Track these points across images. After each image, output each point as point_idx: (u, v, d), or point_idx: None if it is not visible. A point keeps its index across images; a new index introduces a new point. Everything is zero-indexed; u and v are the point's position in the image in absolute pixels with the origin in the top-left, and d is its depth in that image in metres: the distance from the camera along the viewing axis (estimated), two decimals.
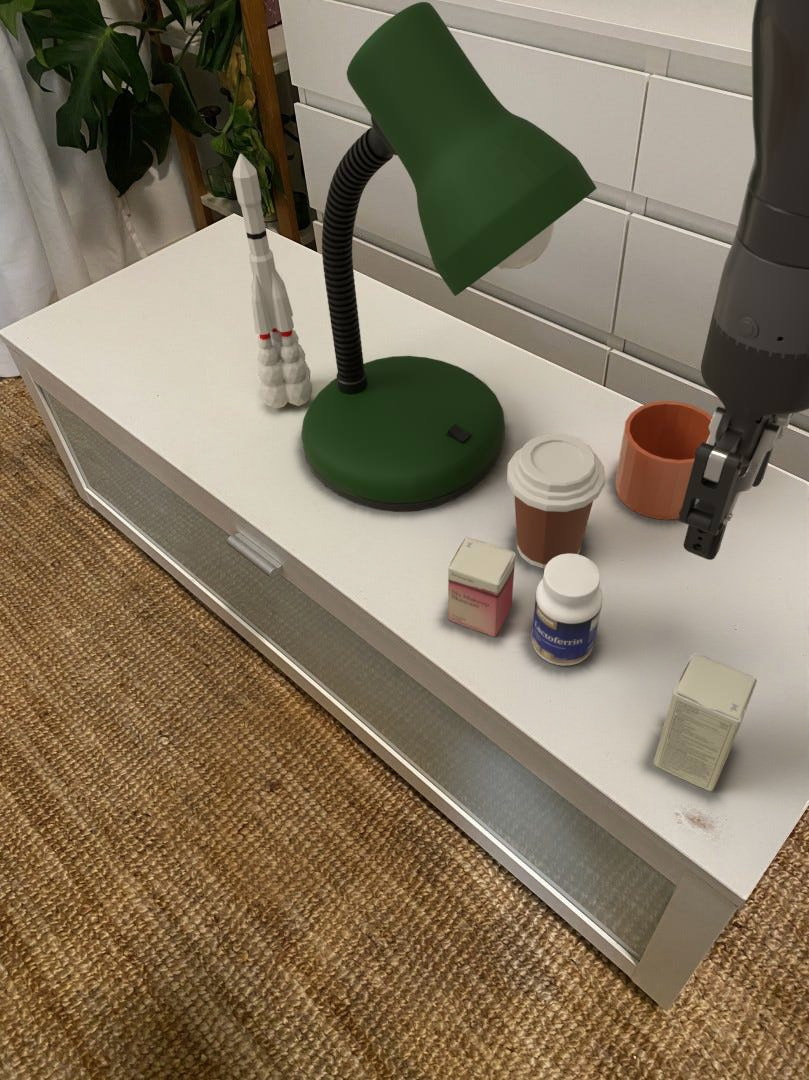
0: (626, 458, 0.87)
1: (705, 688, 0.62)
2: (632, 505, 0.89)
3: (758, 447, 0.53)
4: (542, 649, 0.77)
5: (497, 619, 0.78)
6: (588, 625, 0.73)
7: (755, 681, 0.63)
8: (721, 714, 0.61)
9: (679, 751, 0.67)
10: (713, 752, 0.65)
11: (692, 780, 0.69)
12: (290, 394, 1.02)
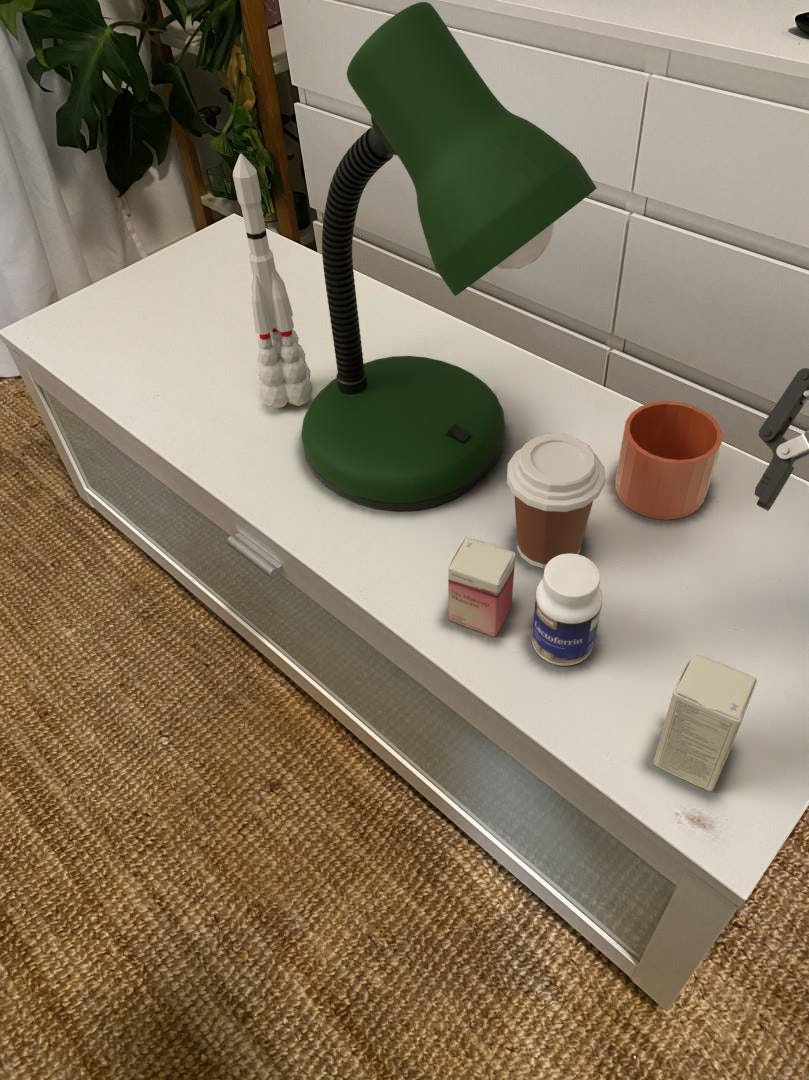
0: (626, 458, 0.87)
1: (705, 688, 0.62)
2: (632, 505, 0.89)
3: None
4: (542, 649, 0.77)
5: (497, 619, 0.78)
6: (588, 625, 0.73)
7: (755, 681, 0.63)
8: (721, 714, 0.61)
9: (679, 751, 0.67)
10: (713, 752, 0.65)
11: (692, 780, 0.69)
12: (290, 394, 1.02)
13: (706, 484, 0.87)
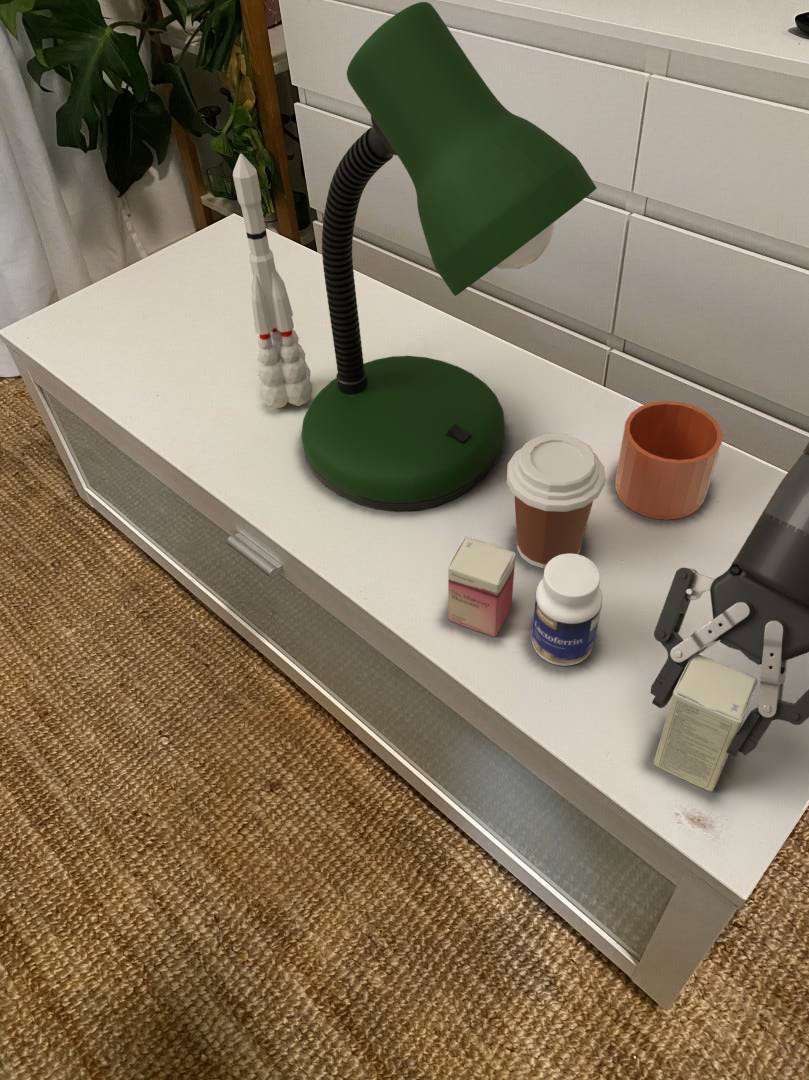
0: (626, 458, 0.87)
1: (706, 689, 0.62)
2: (632, 505, 0.89)
3: None
4: (542, 649, 0.77)
5: (497, 619, 0.78)
6: (588, 625, 0.73)
7: (755, 681, 0.63)
8: (722, 715, 0.61)
9: (679, 751, 0.67)
10: (713, 752, 0.65)
11: (692, 780, 0.69)
12: (290, 394, 1.02)
13: (706, 484, 0.87)
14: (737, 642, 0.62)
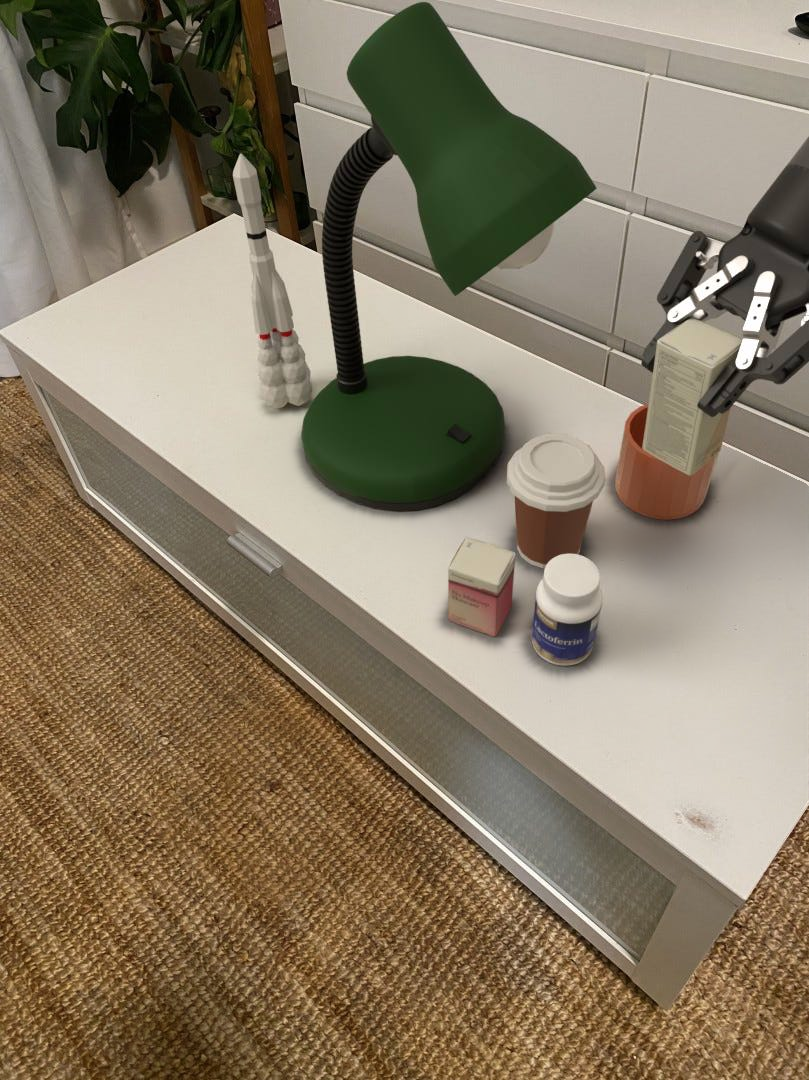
0: (626, 458, 0.87)
1: (689, 341, 0.63)
2: (632, 505, 0.89)
3: None
4: (542, 649, 0.77)
5: (497, 619, 0.78)
6: (588, 625, 0.73)
7: None
8: (696, 361, 0.62)
9: (662, 422, 0.68)
10: (690, 417, 0.66)
11: (673, 462, 0.70)
12: (290, 394, 1.02)
13: (706, 484, 0.87)
14: (731, 299, 0.63)
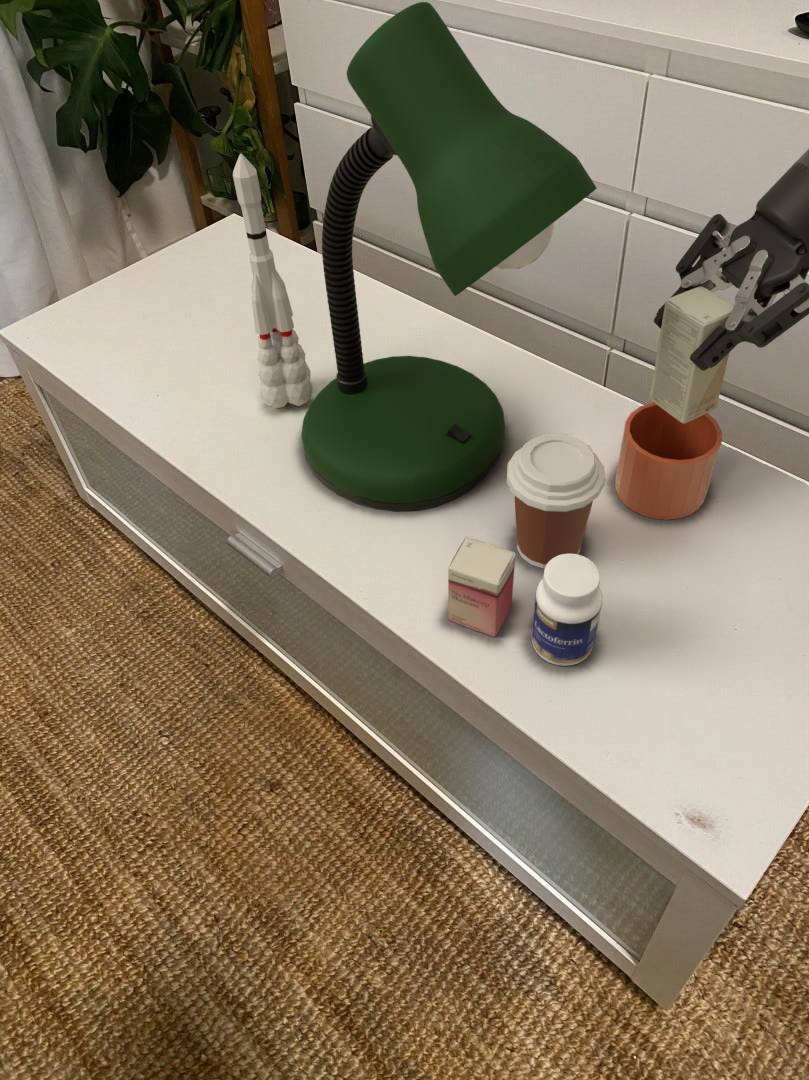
0: (626, 458, 0.87)
1: (692, 303, 0.75)
2: (632, 505, 0.89)
3: None
4: (542, 649, 0.77)
5: (497, 619, 0.78)
6: (588, 625, 0.73)
7: None
8: (693, 319, 0.74)
9: (665, 373, 0.80)
10: (686, 369, 0.77)
11: (672, 411, 0.82)
12: (290, 394, 1.02)
13: (706, 484, 0.87)
14: (733, 272, 0.74)
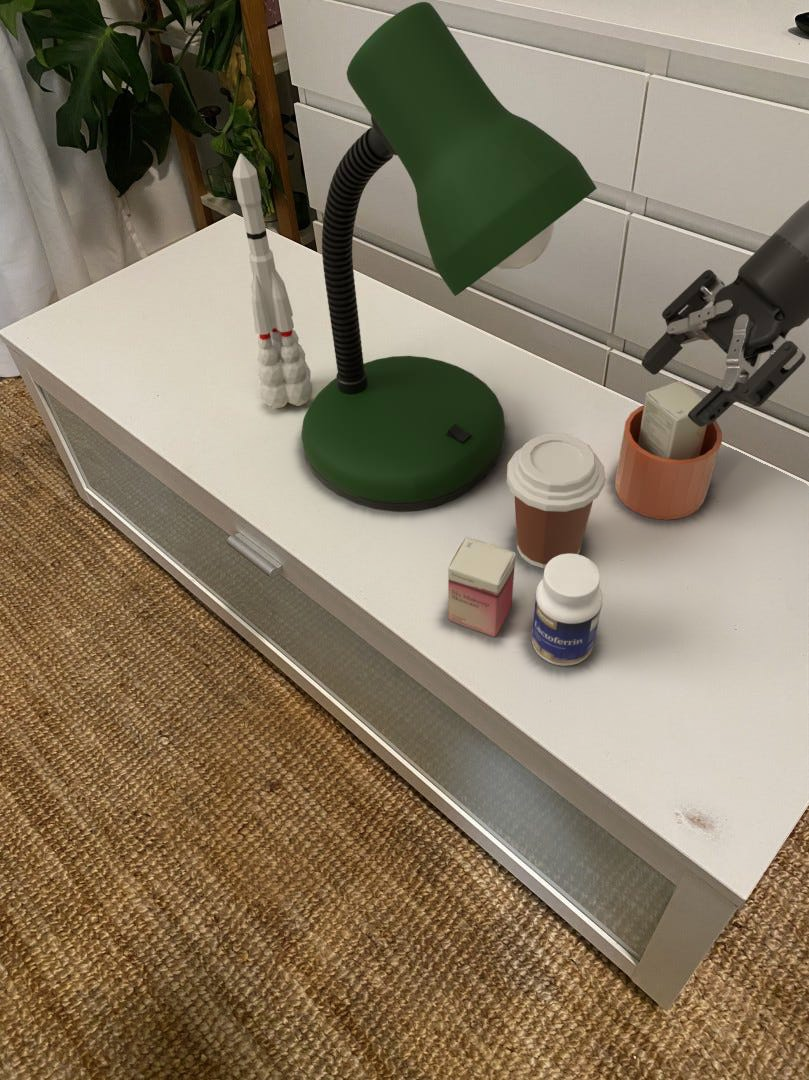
0: (626, 458, 0.87)
1: (669, 397, 0.84)
2: (632, 505, 0.89)
3: None
4: (542, 649, 0.77)
5: (497, 619, 0.78)
6: (588, 625, 0.73)
7: None
8: (668, 413, 0.82)
9: None
10: (662, 455, 0.86)
11: None
12: (290, 394, 1.02)
13: (706, 484, 0.87)
14: (716, 333, 0.79)
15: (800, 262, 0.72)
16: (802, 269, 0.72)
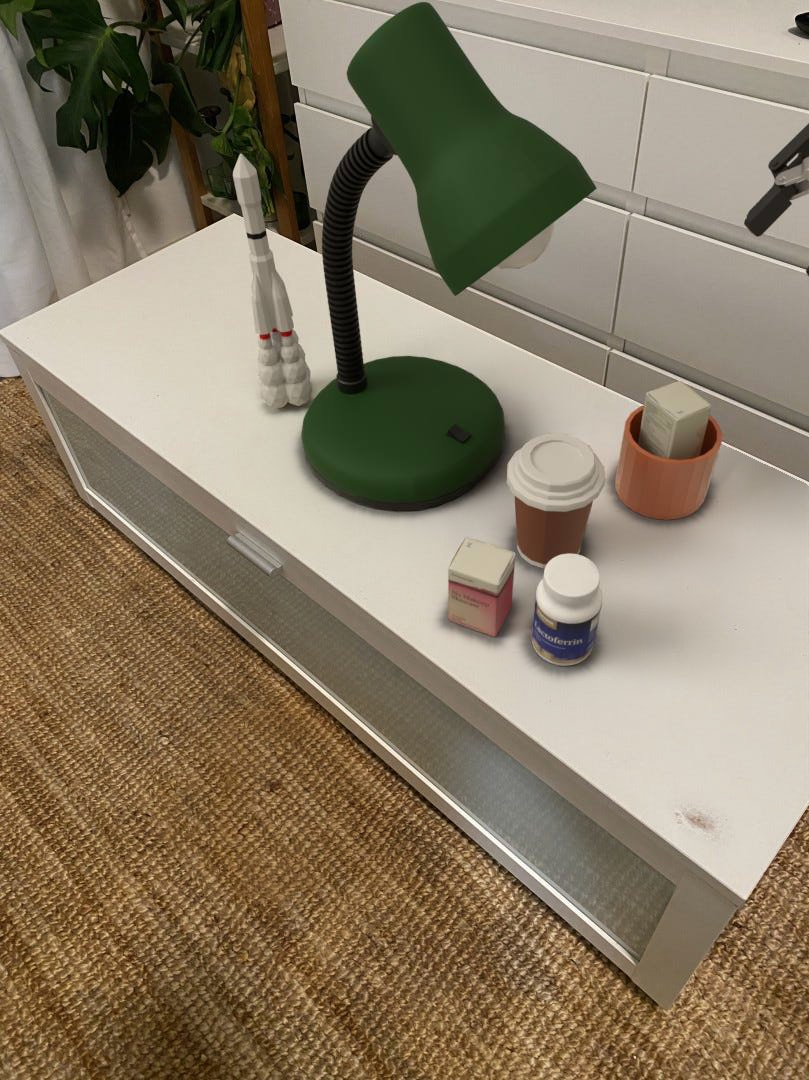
0: (626, 458, 0.87)
1: (669, 397, 0.84)
2: (632, 505, 0.89)
3: None
4: (542, 649, 0.77)
5: (497, 619, 0.78)
6: (588, 625, 0.73)
7: (709, 406, 0.83)
8: (668, 413, 0.82)
9: None
10: (662, 455, 0.86)
11: None
12: (290, 394, 1.02)
13: (706, 484, 0.87)
14: None
15: None
16: None
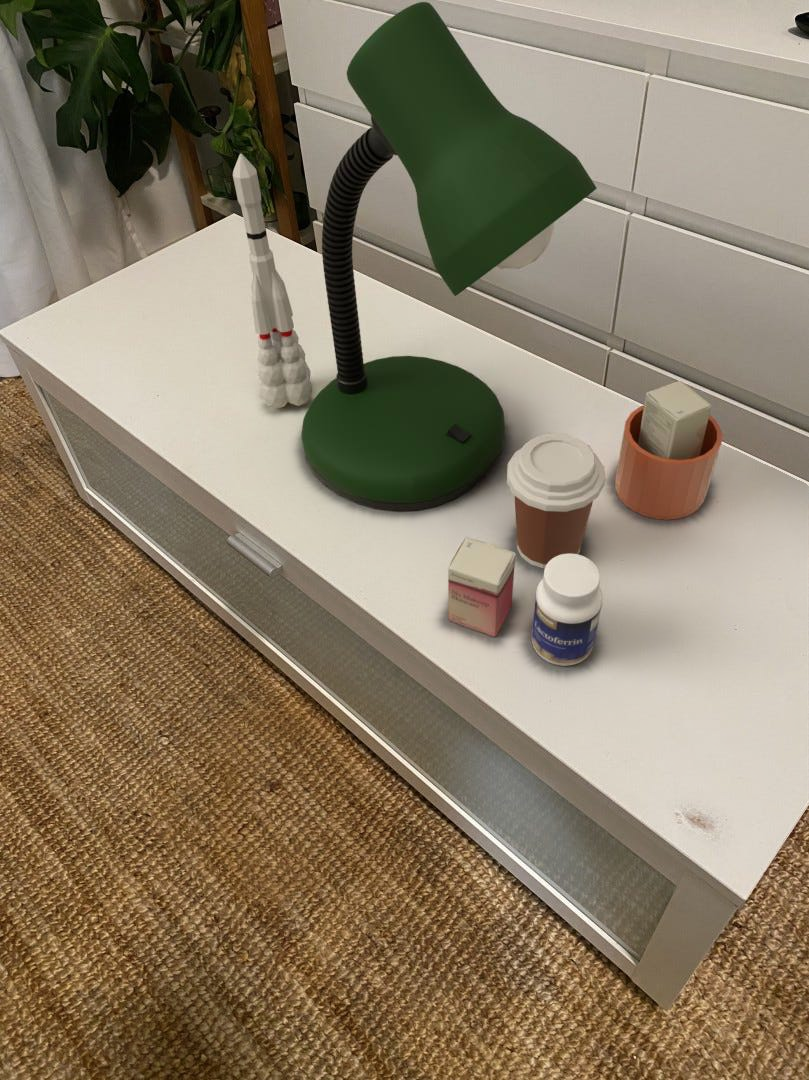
0: (626, 458, 0.87)
1: (669, 397, 0.84)
2: (632, 505, 0.89)
3: None
4: (542, 649, 0.77)
5: (497, 619, 0.78)
6: (588, 625, 0.73)
7: (709, 406, 0.83)
8: (668, 413, 0.82)
9: None
10: (662, 455, 0.86)
11: None
12: (290, 394, 1.02)
13: (706, 484, 0.87)
14: None
15: None
16: None
